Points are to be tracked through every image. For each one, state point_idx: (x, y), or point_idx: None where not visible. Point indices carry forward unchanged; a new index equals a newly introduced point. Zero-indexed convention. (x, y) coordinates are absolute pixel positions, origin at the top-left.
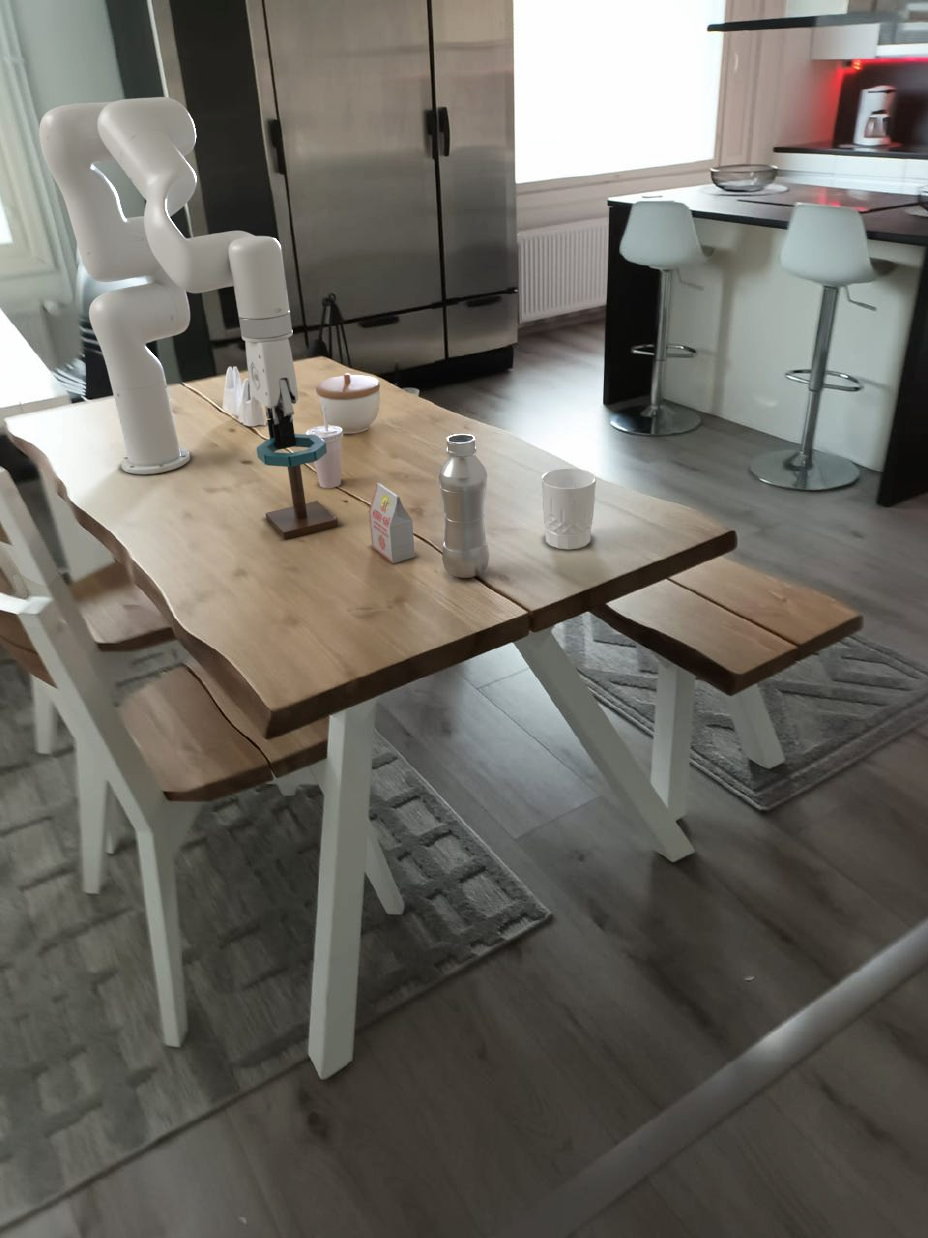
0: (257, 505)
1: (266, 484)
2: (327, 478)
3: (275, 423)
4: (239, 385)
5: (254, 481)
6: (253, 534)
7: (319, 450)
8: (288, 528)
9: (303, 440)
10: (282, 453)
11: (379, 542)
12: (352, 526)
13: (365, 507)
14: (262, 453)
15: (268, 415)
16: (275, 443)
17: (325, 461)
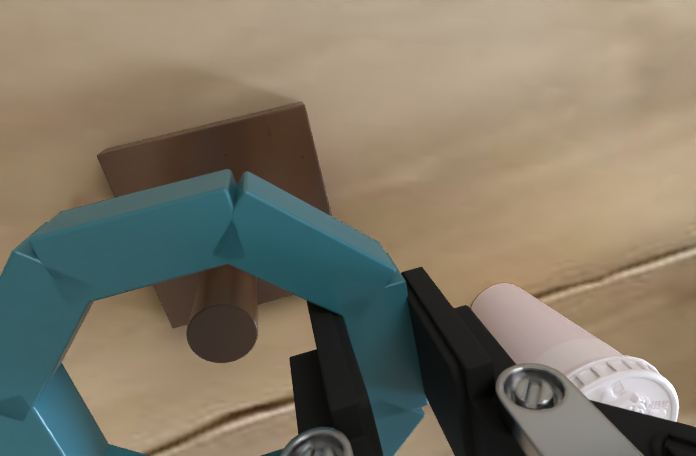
0: (439, 81)
1: (597, 127)
2: (482, 322)
3: (322, 438)
4: None
5: (643, 89)
6: (180, 41)
7: None
8: (131, 175)
9: None
10: (36, 364)
11: None
12: (163, 351)
13: (292, 387)
14: (71, 229)
15: (502, 403)
16: (316, 310)
17: None
